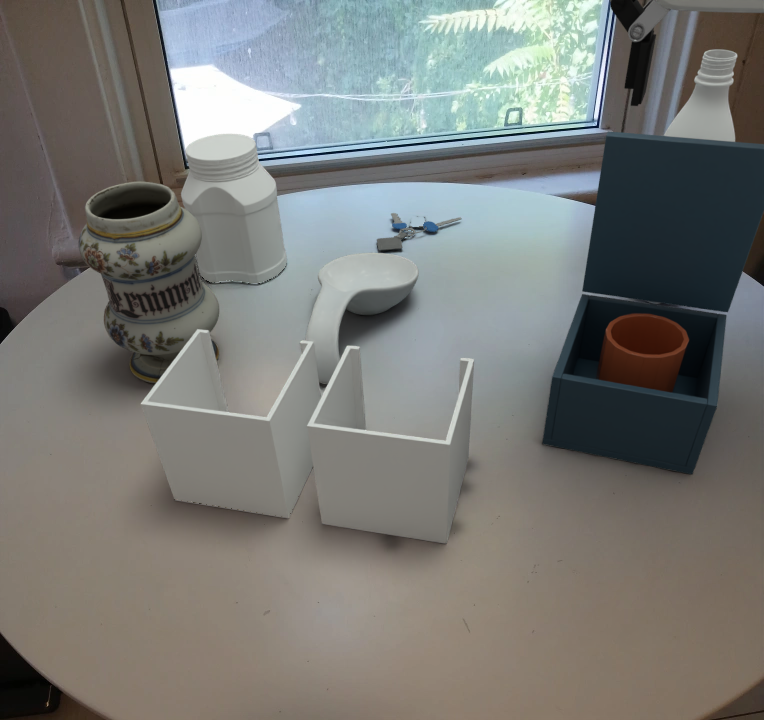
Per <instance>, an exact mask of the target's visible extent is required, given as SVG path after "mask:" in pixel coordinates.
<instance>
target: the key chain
mask: <svg viewBox="0 0 764 720" xmlns="http://www.w3.org/2000/svg"><path fill="white" fill-rule="evenodd" d="M390 216H391V217H392V220H393V221H394V222H393V223H391V227H392V228H393V229H395V230H399V232H398V234H396V235H394V236H393V237H378V238H376V243H377V244H376V245H377V249H378V251H389V250H391V251H392V250H401V249H403V242H402V241H403V240H404V239H403V238H405V237H407V238H409V237H408V236H412V237H414V236H415V235H416V234H418V233H419V234H420V233H422V232H425V231H427V232H430V233H435V232H437V231H438V230H439V227H441V226H444V225H448V224H449V225H450V224H453V223H454V222H458V221H460V220H463V219H462V217H461V216H460V217H456V218H451V219H447V220H443V221H440V222H437V223H435V222H433V221H431V220H427V221H425V222H424V224H423V226H419V227H424V228H423V230H420V231H419V230H418V231H416V230H415V228H412V226H409V227H408V223H406V222H403V220H401V217H400V216H399V214H398V213H396V212H392V213H390ZM406 227H407V228H406ZM404 230H405V231H404ZM408 230H411V231H408ZM402 231H403V232H402ZM412 231H413V232H412ZM405 232H407V233H405ZM408 233H409V234H408ZM414 234H415V235H414ZM413 235H414V236H413ZM402 239H403V240H402ZM405 239H406V238H405ZM401 240H402V241H401Z"/></svg>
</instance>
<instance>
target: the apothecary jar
mask: <svg viewBox="0 0 764 720" xmlns="http://www.w3.org/2000/svg"><path fill="white" fill-rule="evenodd" d="M84 210H85V212H84V213H85V216H86V223H85V225H84V226H83V227H82V230H81V232H80V234H79V238H78V243H77V244H78V251H79V254H80V256H81V259H82V260H83V262H84V263H85V264H86V265H87V266H88V267H89V268H90V269H92V270H93V271H95V272H97V273H99V274H100V275H101V278H102V281H103V284H104V287H105V291H106V293H107V298H108V302H107V304H106V306H105V309H104V311H103V312H104V313H103V325H104V328H105V331H106V333H107V335H108V336H109V338H110V339H111V341H113V343H115V344H116V345H117V346H118V347H120V348H123V349H125V350H127V351H129V352H132V355H131V357H130V359H129V370H130V371H131V373H132V374H133V375H134V376H135V377H136V378H137V379H139V380H141V381H143V382H146V383H150V384H154V385H155V384H156V383H157V382H158V380H159V379H160V378H161V376H162V375H163V374H164V372H165V371H166V370H167V368H168V367H169V366H170V365H171V363H172V362H173V361H174V359H175V358H176V357H177V355H178V354H179V353H180V351H181V350H182V349H183V347H184V346H185V345H186V344H187V342H188V341H189V340H190V338H191V337H192V336H193V334H194V333H195V332H196V330H197V329H200V330H209V333H210V334H211V332H212V331H213V330H214V329H215V327H216V325H217V323H218V320H219V317H220V303H219V300H218V297H217V296H216V294H215V293H214V291H213V290H212V289H211V288H210V287H209V286H208V285H207V284H205V283H203V282H202V279H201V275H200V272H199V268H198V263H197V259H196V253H197V251H198V249H199V247H200V244H201V240H202V231H201V227H200V225H199V223H198V221H197V220H196V218H195V217H194V216H193V215H192V214H191V213H190V212H189V211H187V210H186V209H185V207H183V206H181V205H180V203H179V202H178V198H177V195H176V193H175V192H174V190H173V189H172V188H170V187H169V186H167V185H164V184H161V183H159V182H154V181H130V182H125V183H119V184H116V185H112V186H108V187H106V188H104V189H102V190H99V191H97V192H96V193H95V194H93V195H92V196H91V197H90V198H88V200H87V201H86V203H85V206H84ZM211 341H212V345H213V349H214V353H215V357H216V361H218V360H219V356H220V349H219V347H218V344H217V343H216V342H215V341H214V340H213V339H212V338H211Z"/></svg>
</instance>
